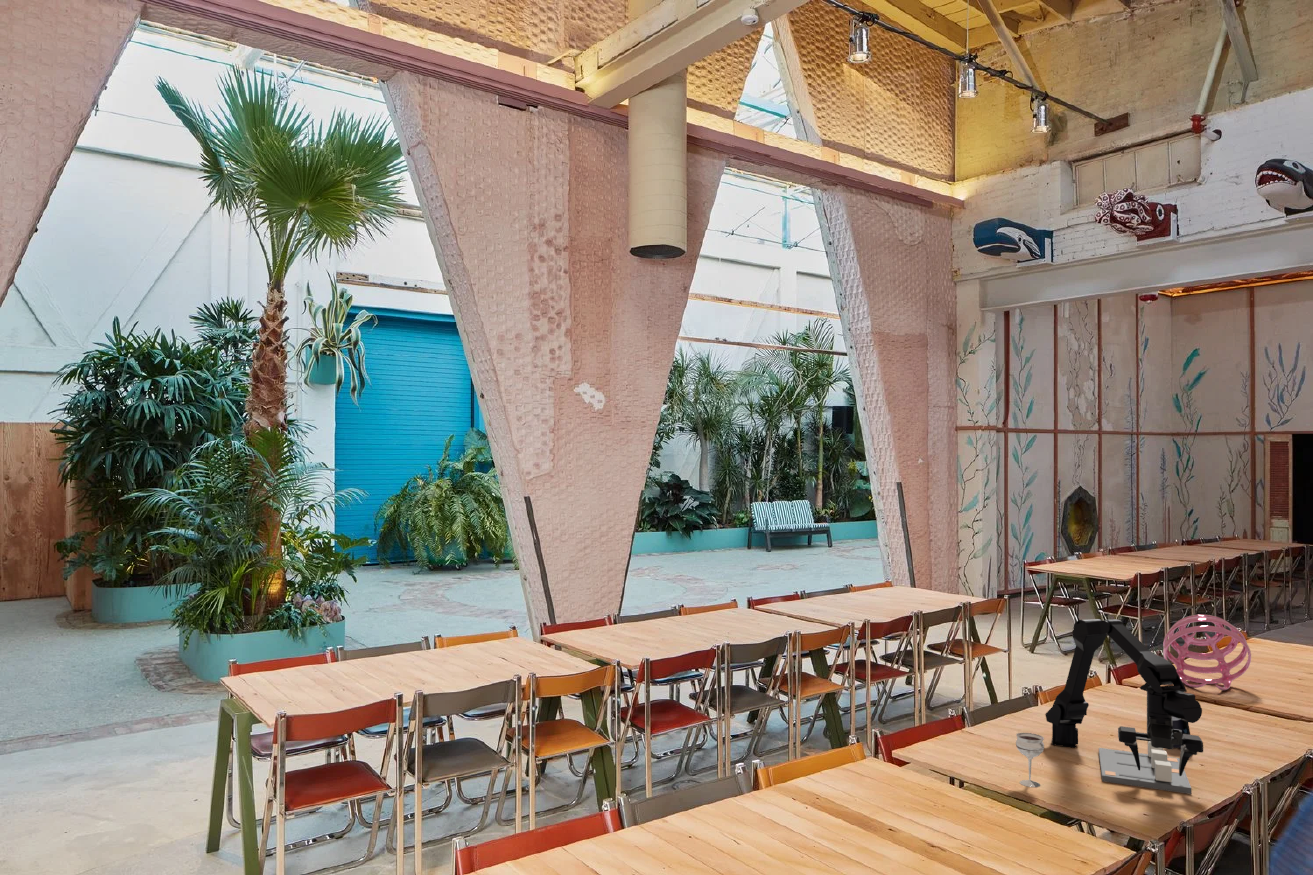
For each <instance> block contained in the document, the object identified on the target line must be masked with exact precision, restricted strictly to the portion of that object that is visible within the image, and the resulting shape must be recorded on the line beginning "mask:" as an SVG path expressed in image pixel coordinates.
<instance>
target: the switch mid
mask: <svg viewBox="0 0 1313 875" xmlns="http://www.w3.org/2000/svg"><path fill="white" fill-rule="evenodd" d="M1167 757H1168V753H1167V751H1166V750H1164V749H1163V750H1155V749H1151V765H1152V768H1155V760H1157V761H1165V762H1167Z"/></svg>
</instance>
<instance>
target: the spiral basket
mask: <svg viewBox="0 0 1313 875" xmlns="http://www.w3.org/2000/svg"><path fill="white" fill-rule="evenodd" d="M1199 622H1209V623H1212V624H1214V626H1213V625H1196V626H1189V627H1187V626H1188V624H1191V623H1199ZM1224 626H1226V627H1228V628H1229V629H1230V630H1229V629H1226V628H1225V627H1224ZM1176 629H1178V631H1177V632H1175V630H1176ZM1200 632H1204V634H1205V637H1206V638H1204V639H1203V638H1201V639H1200V638H1196V637H1195V635H1196V634H1197V633H1200ZM1207 632H1211V633H1215V634H1214V635H1213V636H1210V635H1209V634H1208V633H1207ZM1189 634H1190V635H1189ZM1225 636H1228V637H1231V640H1230V641H1229V643H1228V644H1227V645H1226V646H1225V647H1223V648H1222V649H1220V648H1218V646H1217V643H1220V641H1221V640H1223V638H1224V637H1225ZM1179 638H1182V640H1183V641H1184V644H1183V645H1180V644H1179V643H1178V642H1177V639H1179ZM1239 643H1240V644H1242V649H1241V651H1240V653H1239V655H1237V656H1236V657H1235V658H1234V659H1232V660H1231V661H1229V662H1226V660H1225V657H1226V656H1227V655H1230V654H1231V653H1232V652H1234V650H1235V649H1236V647H1237V646H1238V644H1239ZM1162 645H1163V650H1162V653H1163V658H1165V659H1166V660H1167V661H1171V663H1172V664H1173V665H1174V666H1175V668H1176V670H1177V673H1178V675H1179V677H1180V679H1181V681H1182V682H1183V684H1184V685H1185V686H1187V687H1190V688H1193V689H1198V688H1202V687H1205V686H1206V685H1215V686H1216V688H1218V690H1220V691H1222V692H1224V691H1227V690H1229V689H1230V687H1231V685H1232V682H1233V681H1234V680H1235V679H1237V678H1239V677H1241V676H1242V675H1243V674H1244V673H1245V672H1247V670H1248V669H1249V668H1250V665H1251V662H1252V652H1251V649H1250V647H1249V644H1248V642H1247V640H1246V637H1245V636H1244V634H1243V633H1242V632H1241V631H1240V630H1239V629H1238V628H1237V627H1236V626H1235V625H1233V624H1231V623H1230V622H1228V621H1227V620H1225V619H1223V618H1222V617H1219V616H1215V615H1210V614H1194V615H1193V614H1192V615H1189V616H1185V617H1182V618H1181V619H1179V620H1178V621H1176V622H1175V623H1174V624H1173V625H1172V626H1171V628H1169V630H1168V631H1167V632H1166V634H1165V636H1164V638H1163V644H1162ZM1170 645H1171V647H1172V649H1174V650H1175V652H1177V654H1178V656H1177V657H1176V656H1174V655H1173V654H1172V653H1171V652H1170V650H1169V647H1170ZM1190 645H1193V646H1200V647H1206V646H1207V647H1208V646H1210V647H1211V648H1212V651H1211V652H1206V653H1205V652H1204V653H1203V652H1195V651H1192V650H1189V646H1190ZM1246 657H1247V661H1246V663H1245V664H1244V665H1243V666H1242V668H1241V669H1239V670H1238V671H1237V672H1234V673H1231V672H1230V671H1231V670H1232V669H1234V668H1235V667H1237V666H1239V665H1240V664H1241V663H1242V662H1243V661H1244V660H1245V658H1246ZM1185 658H1190V659H1193V660H1199V661H1213V660H1215V661H1217V663H1218V664H1217V665H1216V666H1197V665H1196V666H1195V665H1191V664H1188V663H1186V662H1185ZM1168 659H1169V660H1168ZM1184 670H1185V671H1189V672H1192V673H1196V674H1197V673H1199V674H1217V673H1219V674H1221V677H1218V678H1200V677H1194V676H1189V675H1188V674H1186V673H1185V672H1184ZM1189 682H1192V683H1196V684H1191V683H1189ZM1219 684H1220V685H1221V684H1223V686H1220V685H1219Z"/></svg>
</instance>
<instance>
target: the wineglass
mask: <svg viewBox="0 0 1313 875" xmlns="http://www.w3.org/2000/svg"><path fill="white" fill-rule="evenodd" d="M1015 735H1016V740H1015V745H1016V746H1015V747H1016V749H1017V751H1019V753H1020V754H1022V755H1023V756H1024V757H1026V758H1027V761H1028V762H1027V763H1028V779H1023V780H1020V781H1019V784H1020V785H1022V786H1024V787H1028V788H1039V787H1041V784H1040V782H1037V781H1034V780H1032V778H1031V777H1032V761H1033V760H1034V758H1036V757H1039V756H1040V755H1041V754H1043V752H1044V751H1045V750H1044V749H1045V744H1044V741H1045V740H1044V739H1045V738H1044V736H1042V735H1040V734H1037V733H1032V732H1018V733H1016V734H1015Z"/></svg>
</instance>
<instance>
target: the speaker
mask: <svg viewBox="0 0 1313 875" xmlns="http://www.w3.org/2000/svg"><path fill="white" fill-rule="evenodd" d="M1172 727H1173V729H1178V730H1182V738H1183V734H1188V735H1191V730H1190V724H1189V722H1187V721H1184V720H1181V719H1178V718H1175V717H1172ZM1173 749H1181V745H1174V744H1173Z"/></svg>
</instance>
